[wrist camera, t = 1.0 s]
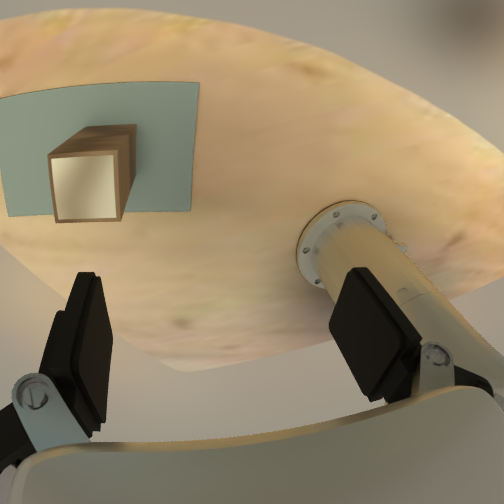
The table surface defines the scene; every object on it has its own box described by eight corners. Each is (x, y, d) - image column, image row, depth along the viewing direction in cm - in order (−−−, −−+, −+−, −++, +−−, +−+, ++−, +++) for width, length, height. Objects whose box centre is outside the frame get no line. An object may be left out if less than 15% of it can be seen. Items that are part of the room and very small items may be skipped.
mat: (199, 82, 26) (199, 82, 25) (190, 209, 32) (190, 211, 32) (-2, 99, 20) (-5, 99, 20) (10, 214, 27) (8, 216, 27)
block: (136, 124, 26) (117, 150, 18) (136, 174, 28) (120, 221, 20) (85, 126, 25) (46, 154, 16) (87, 176, 27) (55, 223, 19)
